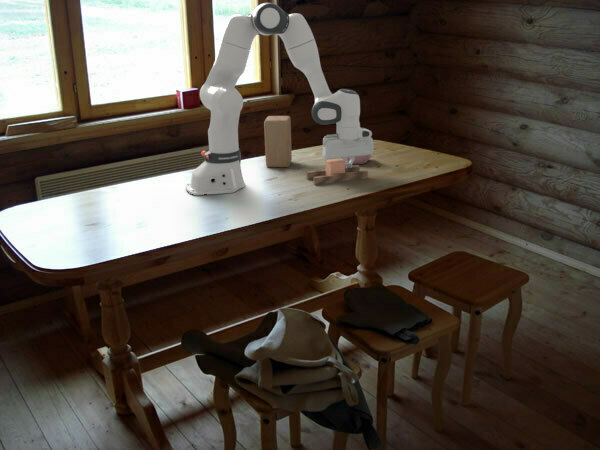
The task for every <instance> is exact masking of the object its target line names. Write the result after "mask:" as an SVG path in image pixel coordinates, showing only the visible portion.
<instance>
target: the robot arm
mask: <svg viewBox="0 0 600 450" xmlns="http://www.w3.org/2000/svg"><path fill="white" fill-rule="evenodd" d="M271 35H277V36H279V37H280V39H281V40H282V42H283V45H284V48H285V50H286V53H287V55H288V57H289V60H290V62H291V63H292V66H293V67H294V68H296V69H298V70H299V71H300V72H302V73H303V74H304V76H305V77H306V78H307V81H308V83H309V86H310V88H311V89H310V90H312V93H313V96H314V104H313V106H312V108H311V117H312V120H314V121H313V122H315V123H317V124H319V125H321V126H322V125H323V126H325V125H326V126H327V125H333V124H336V133H333V134H326V135H325V136H324V137H323V138H322V152H321V153H322V154H321V155H322V157H323V158H324V159H325V160H333V159H341V160H343V161H345V168H352V166H353V164H352V163H353V161H354V160H355V156H361V155H370V154H371V155H372V154H373V153H374V139H373V137H372V135H373V132H372V130H369V129H367V128H365V127H361V122H360V116H361V115H360V114H361V100H360V96H359V94H358V92H356V91H355V90H352V89H349V88H340V89H339V90H337V91H336V92H334V93H333V92H332V90H330V88H329V85H328V82H327V80H326V77H325V74H324V72H323V70H322V66H321V61H320V54H319V48H318V46H317V43H316V39H315V37H314V36H315V35H314V34H313V32H312V29H311V27H310V25H309V24H308V22H307V19H305V17H304V16H303V14H301V13H295V12H294V13H290V14H288V13H287V12H286V11H284V10H283V8H281V6H279V5H278V4H276V3H274V2H263V3H260V4H258V5H257V6H256V7H254V9H252V11H251V12H250V13H249V14H248V15H245V14H240V13H239V14H237V13H236V14H233V15H231V16H230V17H229V19H228V21H227V23H226V25H225V26H224V30H223V32H222V35H221V37H220V38H221V39H220V42H219V45H218V49H217V52H216V55H215V60H214V62H213V65H212V68H211V69H210V71H209V74H208V75H207V78H206V80H205V82H204V84H203V85H202V86H201V88H200V90H199V99H200V100H201V103H202V105H203V106H204V107H205V108H206V109H207V110H209V111H210V119H209V120H210V121H209V122H210V123H209V128H208V129H207V136H208V149H209V150H207V151H206V150H202V151H201V152H200V154H201V156H202V157H204V161H203V162H202V163H201V164H200V165H198V166H197V167H196V168H195V169H194V170H193V171H192V173H191V178H190V182H188V183H186V184H185V191H186V192H187V191H188V192H189V193H188V192H187V193H188V194H190V193H191V194H190V195H192V194H193V196H203V195H204V194H207V195H219V194H233V193H236V192H237V191H238V190H240V189H242V188H243V189H244V187H245V186H246V182H245V180H244V177H243V176H244V175H243V173H242V166H241V164H242V163H241V161H242V156H241V155H242V154H241V149H240V148H239V145H240V144H239V122H240V121H239V120H240V117H241V116H240V115H241V111H242V109H243V107H244V99H243V96H242V94H241V93H240V92H239V90H238V89H236V88H235V86H236V84H237V83H238V81H239V79H240V77H242V75H243V73H244V72H245V70H246V66H247V62H248V59H249V57H250V53H251V49H252V46H253V41H254V39H255V38H256V36H271ZM347 157H349V158H351V159H350V161H349V162H347V160H346V158H347ZM204 196H205V195H204Z"/></svg>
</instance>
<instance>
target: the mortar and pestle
mask: <svg viewBox="0 0 600 450" xmlns="http://www.w3.org/2000/svg"><path fill="white" fill-rule="evenodd" d="M371 156H372V154H370V155H361V156H355V160H354V161H353V163H352V165H364V164H366V163H367V162H368V161H369V160H370V158H371ZM350 159H351V158H349V157H347V158H346V160H345V161H346V162H347V163H349V161H350Z"/></svg>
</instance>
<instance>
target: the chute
mask: <svg viewBox="0 0 600 450" xmlns="http://www.w3.org/2000/svg"><path fill="white" fill-rule="evenodd" d="M305 173H306V175H305V176H306V178H305V179H306V180H307V181H310V180H312V181H313V185H314V186H319V185H328V184H334V183H335V184H336V183H343V182H348V181H357V180H365V179H368V178H369V171H368V170H367V169H365V170H360V164H355V165H352V168H345V173H340V174H333V175H326V168H325V169H317V170H310V171H305Z"/></svg>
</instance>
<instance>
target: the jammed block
mask: <svg viewBox="0 0 600 450" xmlns="http://www.w3.org/2000/svg"><path fill="white" fill-rule="evenodd" d="M345 161H346V160H345ZM345 161H343V160H341V158H336V159H328V160H327V159H325V169H326V175H333V174H340V173H345Z"/></svg>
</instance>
